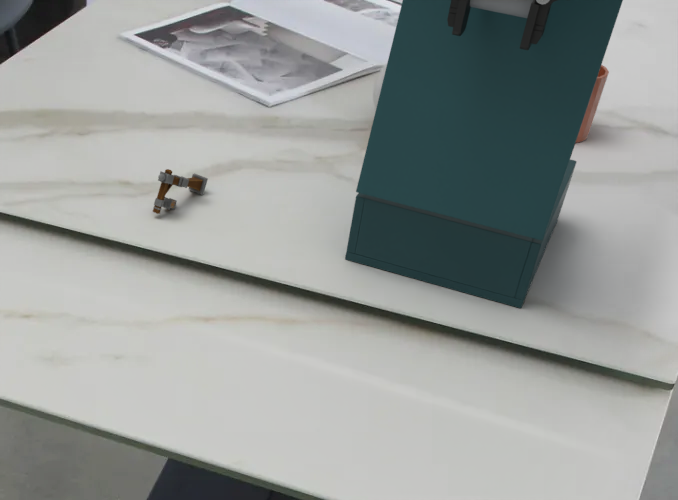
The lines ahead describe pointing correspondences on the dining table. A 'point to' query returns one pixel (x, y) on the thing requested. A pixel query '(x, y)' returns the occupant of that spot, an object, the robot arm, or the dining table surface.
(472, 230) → the teal box base
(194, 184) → the brown grey bent piece
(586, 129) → the cup
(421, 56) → the lid
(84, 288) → the dining table surface
